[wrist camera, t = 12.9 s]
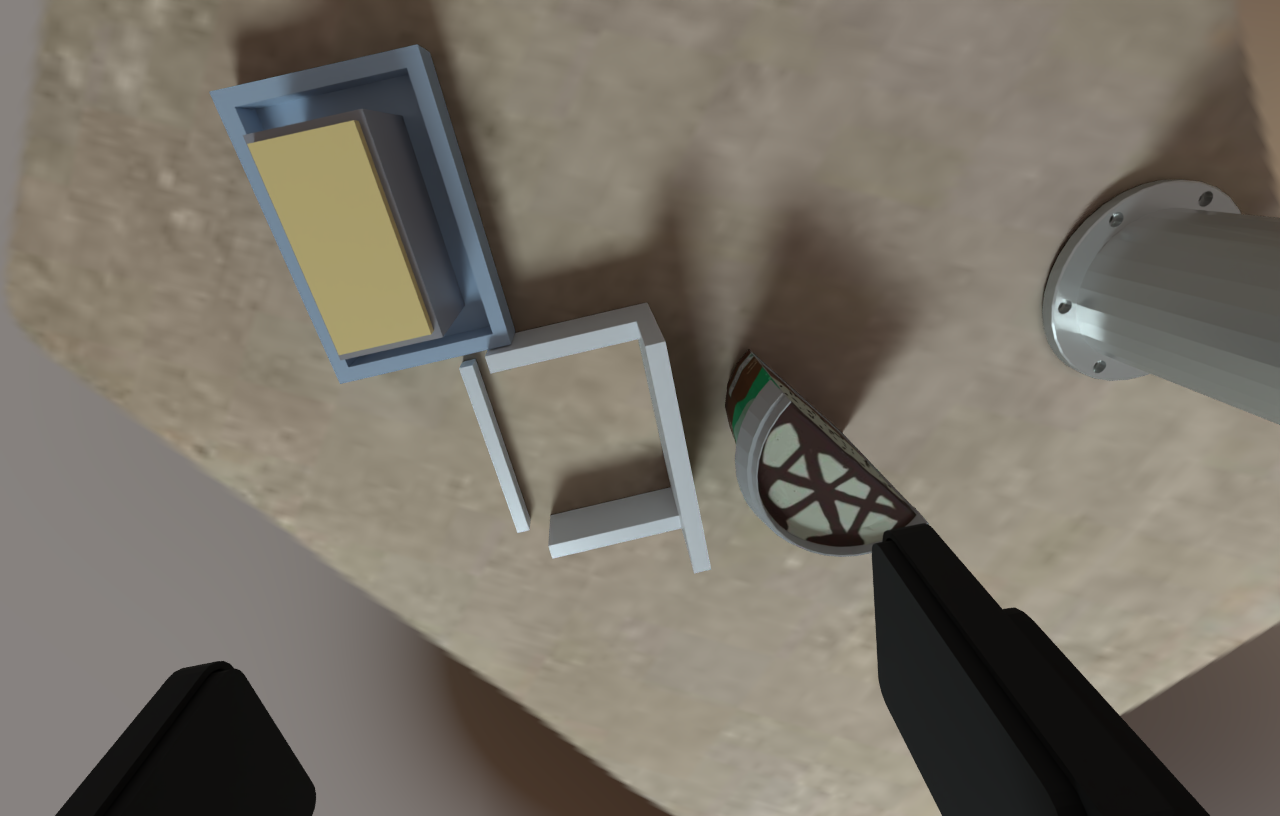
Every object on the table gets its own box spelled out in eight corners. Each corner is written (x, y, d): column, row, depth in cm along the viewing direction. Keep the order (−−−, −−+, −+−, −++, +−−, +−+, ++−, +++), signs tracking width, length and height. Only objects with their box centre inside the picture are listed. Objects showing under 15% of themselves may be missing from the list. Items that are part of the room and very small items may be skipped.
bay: (647, 302, 36) (665, 341, 29) (687, 495, 42) (711, 569, 35) (457, 346, 36) (427, 396, 29) (523, 534, 42) (512, 616, 35)
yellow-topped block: (402, 115, 31) (357, 107, 24) (465, 305, 35) (440, 341, 28) (306, 137, 31) (235, 135, 24) (380, 324, 35) (335, 364, 28)
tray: (429, 52, 30) (417, 44, 28) (515, 331, 36) (511, 344, 34) (237, 96, 30) (209, 91, 28) (355, 368, 36) (340, 383, 34)
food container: (666, 404, 39) (694, 483, 30) (732, 334, 38) (783, 394, 29) (791, 505, 43) (850, 601, 34) (856, 445, 42) (934, 528, 33)
